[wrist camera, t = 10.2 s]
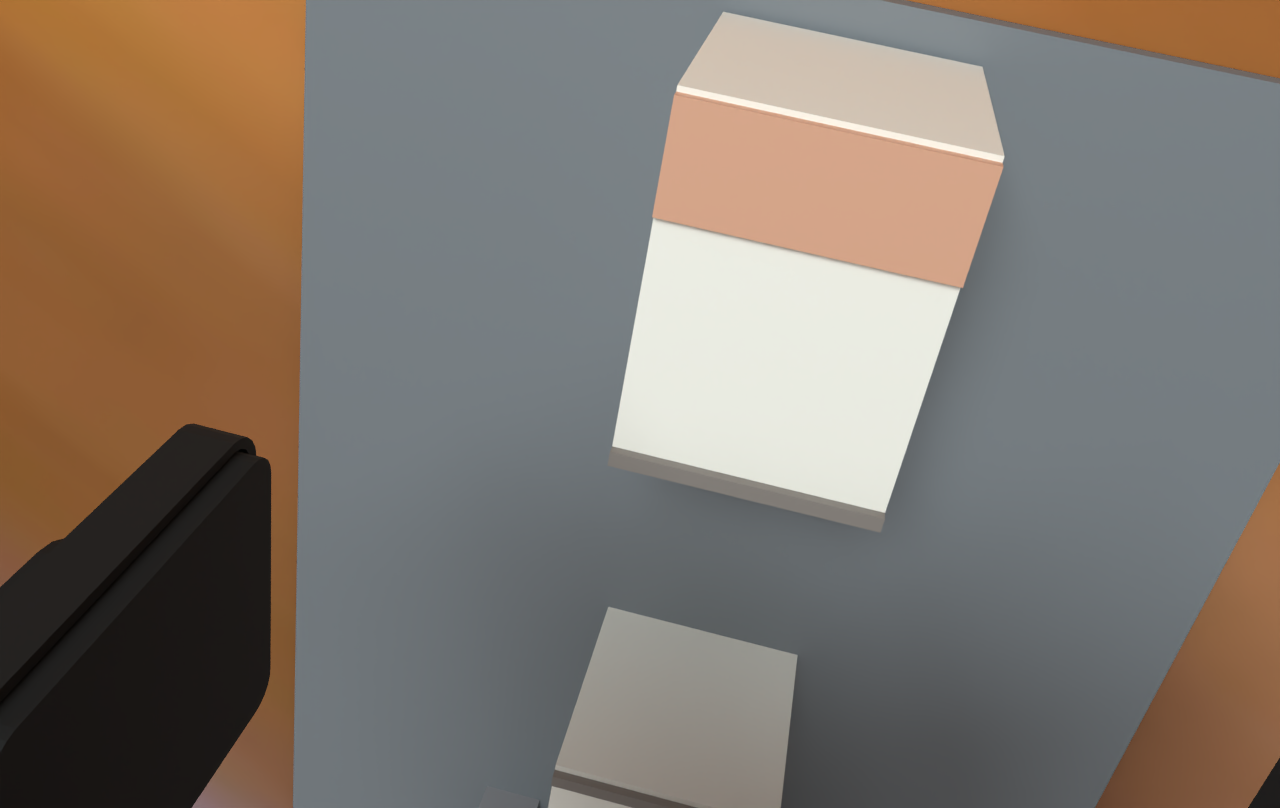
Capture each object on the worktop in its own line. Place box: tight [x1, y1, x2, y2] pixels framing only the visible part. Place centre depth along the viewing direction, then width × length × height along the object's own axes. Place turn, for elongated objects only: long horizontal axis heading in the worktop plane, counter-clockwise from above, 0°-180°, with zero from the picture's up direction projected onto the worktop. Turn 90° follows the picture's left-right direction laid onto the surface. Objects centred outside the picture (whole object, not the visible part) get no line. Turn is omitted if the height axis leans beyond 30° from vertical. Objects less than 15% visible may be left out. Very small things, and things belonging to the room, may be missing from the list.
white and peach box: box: [607, 12, 1005, 533], centre depth 22 cm, size 5×7×6 cm
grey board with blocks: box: [293, 0, 1280, 808], centre depth 28 cm, size 22×32×7 cm
